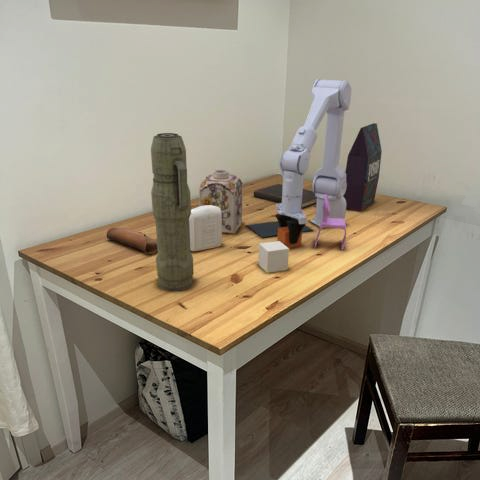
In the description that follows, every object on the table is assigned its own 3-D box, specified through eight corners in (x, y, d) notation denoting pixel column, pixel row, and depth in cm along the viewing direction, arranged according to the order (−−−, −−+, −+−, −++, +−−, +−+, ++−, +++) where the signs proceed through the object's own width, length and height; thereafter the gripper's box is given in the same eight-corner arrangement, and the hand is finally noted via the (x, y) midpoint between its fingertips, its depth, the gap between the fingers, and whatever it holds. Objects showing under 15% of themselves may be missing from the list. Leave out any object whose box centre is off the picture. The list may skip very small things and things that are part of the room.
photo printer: (216, 242, 146) (216, 201, 140) (224, 246, 143) (223, 205, 137) (186, 248, 141) (184, 206, 135) (193, 253, 138) (191, 210, 132)
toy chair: (344, 251, 141) (351, 200, 133) (314, 249, 142) (318, 198, 135) (344, 241, 148) (350, 192, 140) (315, 239, 149) (320, 190, 142)
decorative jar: (208, 220, 164) (207, 165, 155) (242, 222, 162) (243, 167, 153) (199, 231, 154) (197, 174, 145) (235, 234, 152) (235, 176, 143)
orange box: (293, 241, 148) (294, 225, 145) (300, 246, 144) (302, 230, 142) (277, 243, 146) (277, 227, 143) (284, 248, 142) (285, 232, 140)
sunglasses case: (168, 245, 142) (158, 229, 136) (154, 263, 139) (143, 247, 134) (128, 232, 151) (117, 216, 146) (114, 248, 149) (102, 233, 144)
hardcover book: (278, 189, 200) (278, 183, 199) (325, 200, 187) (326, 194, 186) (253, 196, 190) (253, 190, 188) (301, 208, 176) (302, 202, 175)
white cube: (278, 261, 134) (279, 240, 131) (287, 269, 129) (289, 248, 126) (258, 264, 132) (258, 243, 129) (266, 272, 127) (267, 251, 124)
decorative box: (375, 201, 186) (387, 123, 172) (361, 212, 174) (373, 129, 160) (355, 198, 190) (365, 121, 176) (339, 208, 177) (349, 127, 164)
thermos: (176, 296, 115) (168, 140, 97) (147, 280, 122) (134, 133, 104) (205, 285, 120) (201, 136, 103) (175, 271, 127) (167, 129, 110)
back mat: (294, 220, 165) (294, 218, 165) (312, 231, 156) (312, 229, 156) (246, 226, 159) (246, 225, 159) (262, 238, 150) (262, 236, 149)
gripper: (268, 189, 142) (266, 234, 149) (292, 203, 130) (289, 250, 137) (289, 187, 144) (286, 231, 151) (314, 200, 133) (310, 247, 140)
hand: (289, 240), depth 144 cm, fingers closed on orange box, 4 cm apart
